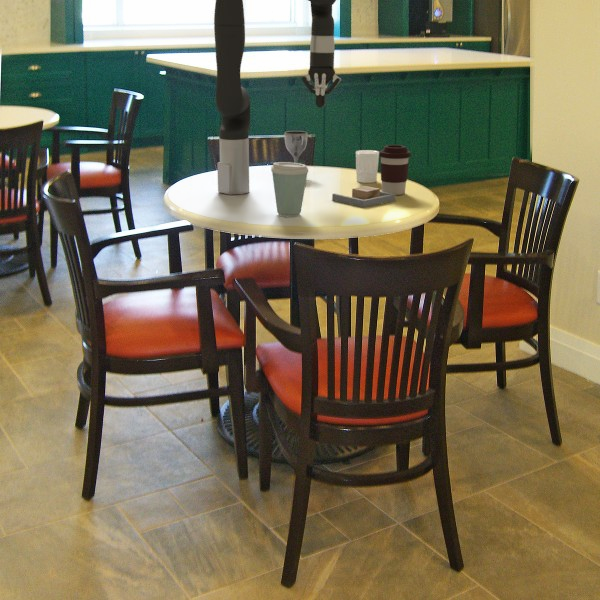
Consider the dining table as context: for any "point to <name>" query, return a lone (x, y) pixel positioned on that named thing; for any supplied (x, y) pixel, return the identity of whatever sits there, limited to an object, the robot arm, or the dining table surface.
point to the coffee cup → (394, 168)
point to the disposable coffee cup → (289, 187)
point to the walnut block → (365, 192)
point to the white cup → (367, 165)
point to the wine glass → (295, 143)
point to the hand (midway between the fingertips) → (320, 107)
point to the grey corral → (365, 203)
